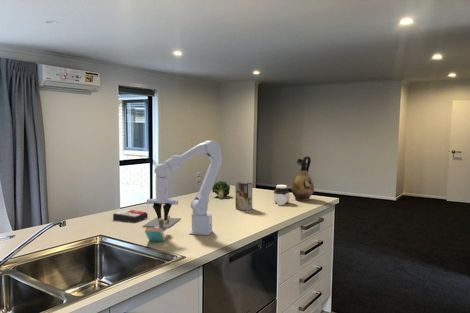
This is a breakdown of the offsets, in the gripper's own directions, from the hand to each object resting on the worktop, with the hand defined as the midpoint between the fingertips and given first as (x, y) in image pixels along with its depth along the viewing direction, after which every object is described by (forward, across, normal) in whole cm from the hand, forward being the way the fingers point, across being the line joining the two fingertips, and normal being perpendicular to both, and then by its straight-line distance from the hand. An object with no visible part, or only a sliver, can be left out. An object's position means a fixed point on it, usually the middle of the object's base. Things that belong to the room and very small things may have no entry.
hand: (162, 219), depth 168 cm
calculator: (+8, +30, -28) cm, 42 cm away
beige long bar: (+3, 0, 0) cm, 4 cm away
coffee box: (+8, -28, -62) cm, 69 cm away
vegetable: (+8, -6, -99) cm, 99 cm away
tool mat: (+8, +9, -22) cm, 25 cm away
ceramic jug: (+8, -64, -97) cm, 117 cm away
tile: (+7, 0, +7) cm, 10 cm away
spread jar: (+8, -50, -81) cm, 96 cm away
